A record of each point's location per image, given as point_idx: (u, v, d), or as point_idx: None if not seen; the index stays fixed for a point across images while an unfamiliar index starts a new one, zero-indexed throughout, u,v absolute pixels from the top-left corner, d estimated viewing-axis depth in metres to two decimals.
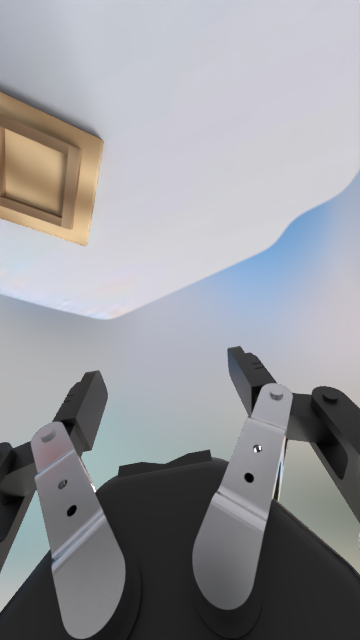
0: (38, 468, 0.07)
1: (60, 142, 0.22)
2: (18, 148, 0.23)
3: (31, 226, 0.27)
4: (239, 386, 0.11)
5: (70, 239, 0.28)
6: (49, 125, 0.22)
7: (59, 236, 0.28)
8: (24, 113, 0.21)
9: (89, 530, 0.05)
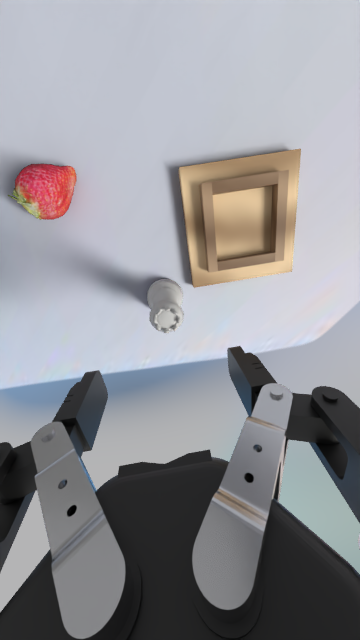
0: (38, 468, 0.07)
1: (270, 174, 0.20)
2: (222, 207, 0.22)
3: (239, 278, 0.25)
4: (239, 386, 0.11)
5: (276, 271, 0.25)
6: (248, 167, 0.21)
7: (265, 274, 0.25)
8: (225, 170, 0.21)
9: (89, 530, 0.05)
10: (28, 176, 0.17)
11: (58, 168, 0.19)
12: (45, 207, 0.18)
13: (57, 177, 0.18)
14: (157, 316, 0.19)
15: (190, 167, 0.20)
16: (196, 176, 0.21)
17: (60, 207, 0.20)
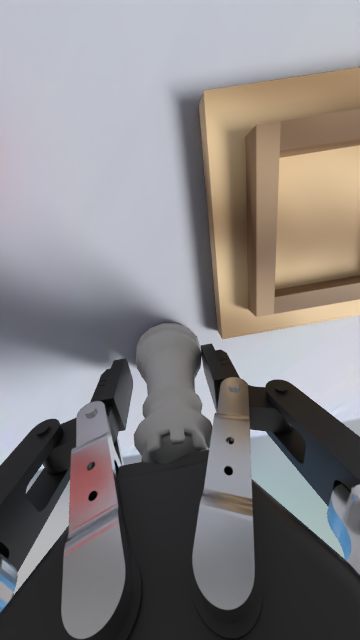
0: (77, 441, 0.08)
1: None
2: (290, 186, 0.10)
3: (305, 321, 0.14)
4: (209, 381, 0.12)
5: None
6: (356, 94, 0.09)
7: (354, 313, 0.14)
8: (306, 99, 0.09)
9: (89, 530, 0.05)
10: None
11: None
12: None
13: None
14: None
15: (228, 91, 0.09)
16: (240, 113, 0.09)
17: None
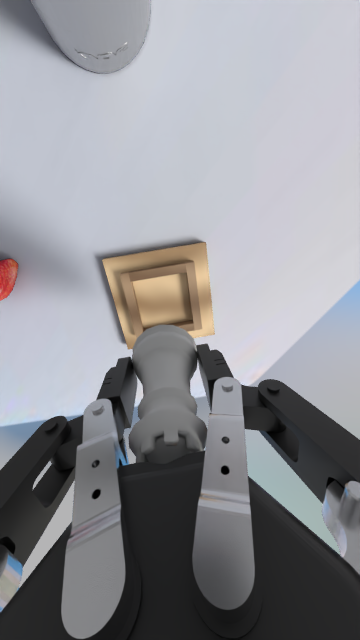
0: (83, 438, 0.08)
1: (178, 266, 0.24)
2: (144, 288, 0.26)
3: None
4: (203, 381, 0.12)
5: (200, 335, 0.29)
6: (162, 257, 0.24)
7: None
8: (142, 260, 0.24)
9: (89, 530, 0.05)
10: None
11: None
12: None
13: None
14: None
15: (111, 259, 0.24)
16: (117, 265, 0.24)
17: (2, 293, 0.23)
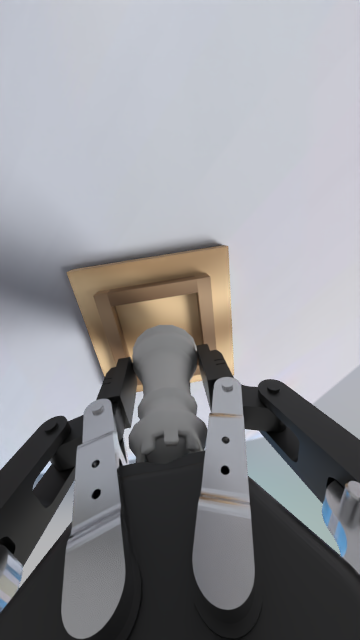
0: (83, 438, 0.08)
1: (185, 283, 0.15)
2: (133, 313, 0.17)
3: None
4: (203, 381, 0.12)
5: None
6: (160, 269, 0.16)
7: (201, 379, 0.20)
8: (130, 273, 0.16)
9: (89, 530, 0.05)
10: None
11: None
12: None
13: None
14: None
15: (81, 271, 0.15)
16: (91, 281, 0.16)
17: None
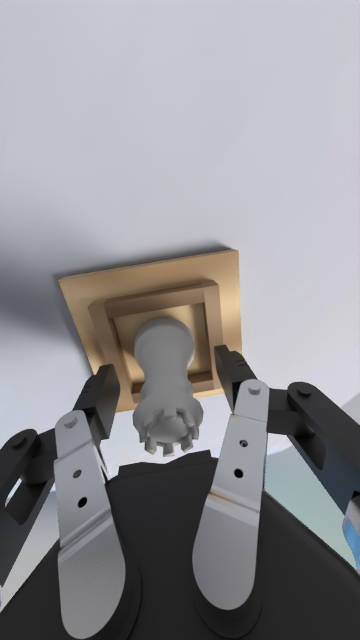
0: (58, 453, 0.08)
1: (191, 291, 0.14)
2: (133, 325, 0.15)
3: None
4: (223, 383, 0.12)
5: (222, 391, 0.19)
6: (163, 276, 0.14)
7: (207, 394, 0.19)
8: (129, 280, 0.14)
9: (89, 530, 0.05)
10: None
11: None
12: None
13: None
14: None
15: (74, 279, 0.14)
16: (86, 290, 0.14)
17: None
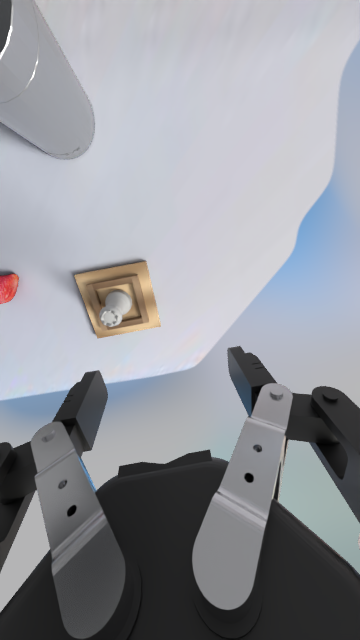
0: (37, 468, 0.07)
1: (126, 278, 0.34)
2: (105, 293, 0.36)
3: (126, 331, 0.39)
4: (239, 386, 0.11)
5: (150, 327, 0.39)
6: (116, 272, 0.35)
7: (143, 328, 0.39)
8: (102, 275, 0.35)
9: (89, 530, 0.05)
10: None
11: (5, 277, 0.33)
12: None
13: (4, 284, 0.33)
14: (103, 316, 0.30)
15: (80, 275, 0.35)
16: (85, 279, 0.35)
17: (8, 297, 0.34)
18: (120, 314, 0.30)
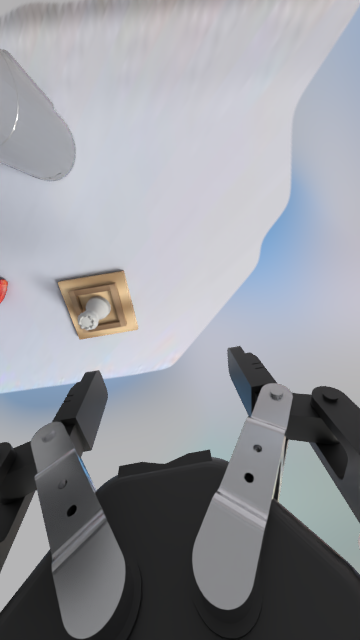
0: (38, 468, 0.07)
1: (104, 286, 0.38)
2: (86, 299, 0.40)
3: (106, 333, 0.43)
4: (239, 386, 0.11)
5: (128, 330, 0.43)
6: (96, 281, 0.39)
7: (121, 331, 0.43)
8: (83, 282, 0.39)
9: (89, 530, 0.05)
10: None
11: None
12: None
13: None
14: (81, 320, 0.34)
15: (63, 282, 0.39)
16: (67, 286, 0.39)
17: None
18: (96, 319, 0.34)
